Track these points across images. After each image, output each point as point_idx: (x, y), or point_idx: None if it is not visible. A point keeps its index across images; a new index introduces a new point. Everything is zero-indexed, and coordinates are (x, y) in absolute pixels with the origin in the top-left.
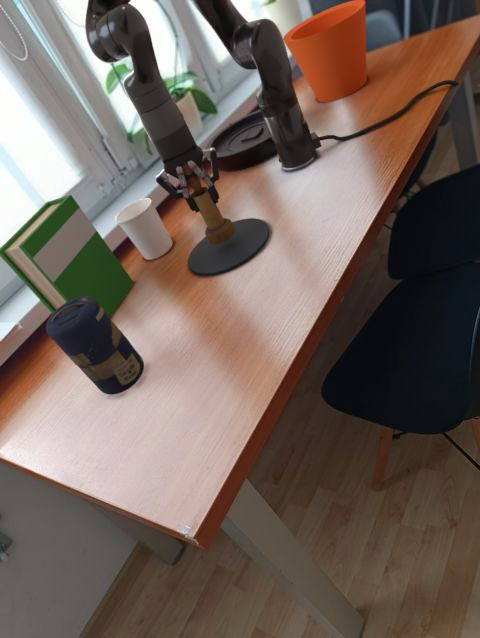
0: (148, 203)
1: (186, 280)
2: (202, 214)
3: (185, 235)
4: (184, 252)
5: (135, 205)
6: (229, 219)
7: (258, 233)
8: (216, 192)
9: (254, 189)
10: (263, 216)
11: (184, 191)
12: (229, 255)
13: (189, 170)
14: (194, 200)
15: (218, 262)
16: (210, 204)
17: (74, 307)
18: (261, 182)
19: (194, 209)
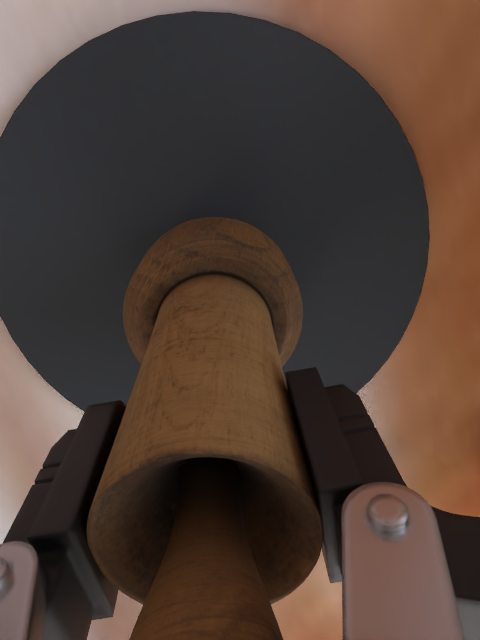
0: None
1: (450, 95)
2: (265, 350)
3: (424, 483)
4: (438, 365)
5: None
6: (140, 361)
7: (41, 276)
8: (41, 482)
9: (136, 607)
10: (61, 422)
11: (409, 587)
12: (190, 160)
13: None
14: (292, 449)
15: (253, 125)
16: (147, 379)
17: None
18: (112, 630)
19: (321, 384)
